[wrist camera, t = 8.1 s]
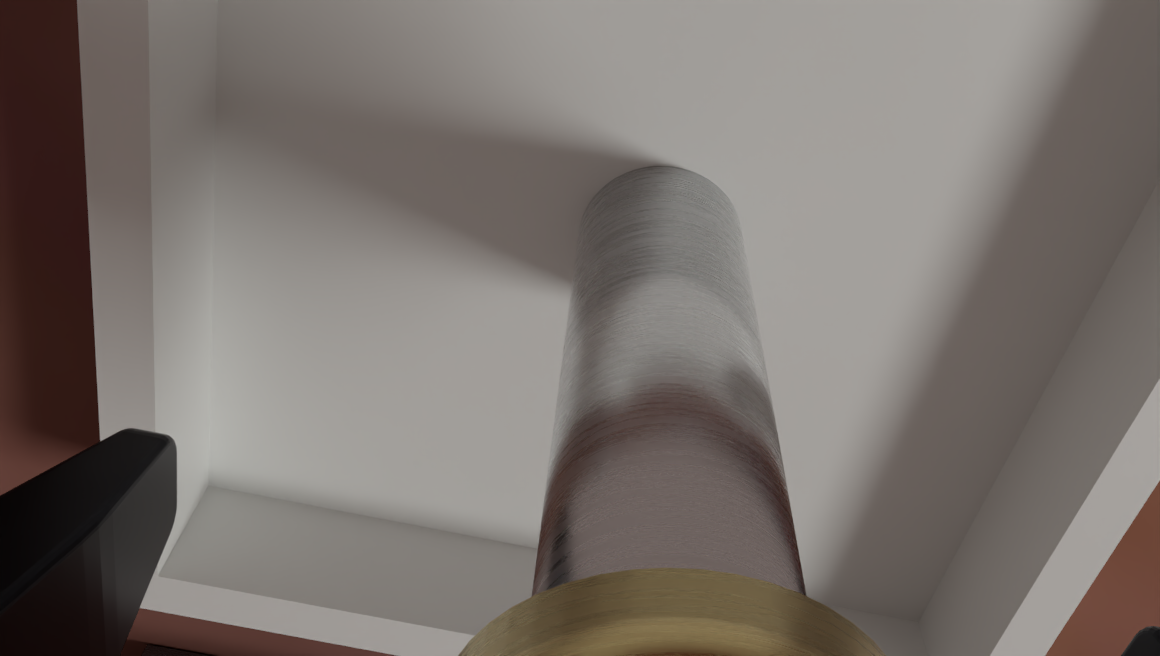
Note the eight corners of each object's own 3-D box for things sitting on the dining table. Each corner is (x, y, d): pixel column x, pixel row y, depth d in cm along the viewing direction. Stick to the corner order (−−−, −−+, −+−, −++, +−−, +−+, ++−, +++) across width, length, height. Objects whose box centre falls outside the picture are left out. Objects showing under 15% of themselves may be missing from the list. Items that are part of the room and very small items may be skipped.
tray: (180, 481, 19) (108, 601, 17) (180, -498, 12) (47, -554, 9) (933, 626, 20) (974, 762, 17) (1392, -199, 12) (1586, -171, 10)
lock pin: (518, 320, 16) (371, 1029, 7) (563, 100, 14) (433, 712, 6) (743, 366, 16) (850, 1107, 8) (816, 155, 14) (1066, 827, 6)
